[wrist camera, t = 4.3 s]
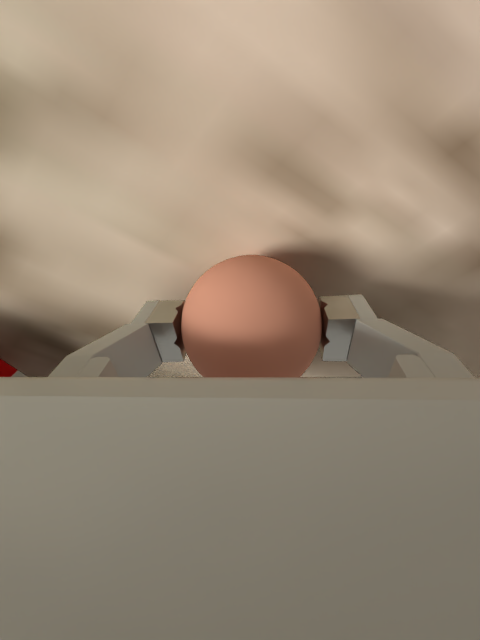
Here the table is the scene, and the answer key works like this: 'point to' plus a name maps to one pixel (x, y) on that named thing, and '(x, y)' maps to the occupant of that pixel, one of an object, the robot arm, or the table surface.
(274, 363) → the ball
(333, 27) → the table surface
